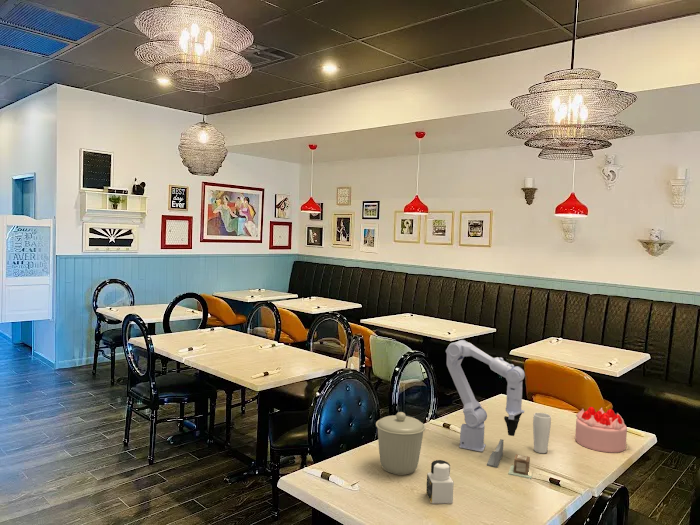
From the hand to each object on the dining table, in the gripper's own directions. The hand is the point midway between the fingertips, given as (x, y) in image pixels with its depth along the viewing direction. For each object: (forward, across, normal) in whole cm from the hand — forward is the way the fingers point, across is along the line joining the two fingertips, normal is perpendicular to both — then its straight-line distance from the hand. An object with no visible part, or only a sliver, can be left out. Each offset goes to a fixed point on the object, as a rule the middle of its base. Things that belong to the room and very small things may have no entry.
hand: (512, 432), depth 210 cm
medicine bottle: (+10, -47, +17) cm, 51 cm away
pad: (+10, -13, -5) cm, 17 cm away
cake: (+10, +34, -32) cm, 48 cm away
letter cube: (+10, -13, -5) cm, 17 cm away
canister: (+10, -32, +36) cm, 49 cm away
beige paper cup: (+10, +12, -10) cm, 19 cm away
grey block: (+10, -6, +5) cm, 13 cm away
